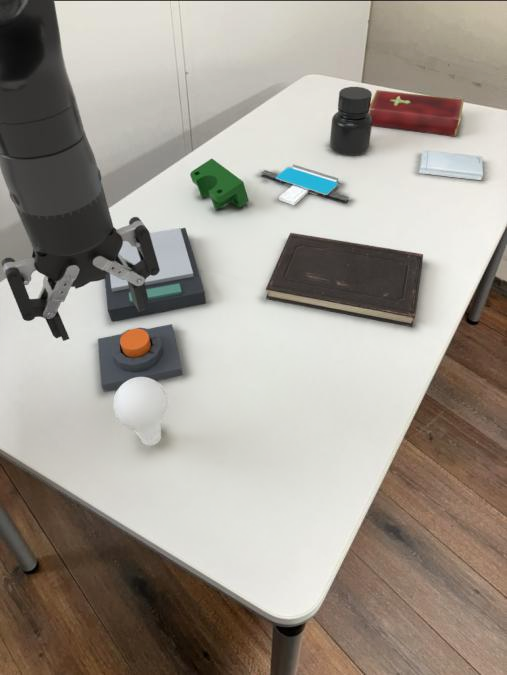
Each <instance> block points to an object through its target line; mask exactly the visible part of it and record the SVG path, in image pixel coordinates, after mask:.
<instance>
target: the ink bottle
mask: <svg viewBox="0 0 507 675" xmlns="http://www.w3.org/2000/svg"><path fill="white" fill-rule="evenodd" d="M372 96H373V93H372V91H371V90H370V89H368V88H365V87H362V86H348V87H344V88H342V89H340V90H339V92H338V101H337V112H336V113H334V114H333V116H332V117H331V124H330V125H331V126H330V137H329V147H330V149H331V150H332V151H333V152H334V153H336V154H339V155H342V156H357V155H358V156H360V155H362V154H365V153H366V152H367V151H368V149H369V148H370V142H371V135H372V128H373V126H372V122H373V121H372V117H371V116H370V114H369V113H368V112H369V108H370V104H371V102H372Z"/></svg>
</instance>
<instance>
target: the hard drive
mask: <svg viewBox="0 0 507 675" xmlns="http://www.w3.org/2000/svg"><path fill="white" fill-rule="evenodd" d="M419 163H420V164H419V171H418V172H419V174H422V175H423V174H424V175H433V176H440V177H450V178H458V179H467V180H475V181H482V179H483V176H484V164H483V156H482V155H475V154H466V153H458V152H457V153H455V152H446V151H439V150H438V151H437V150H426V149H423V150H422V152H421V157H420V162H419Z"/></svg>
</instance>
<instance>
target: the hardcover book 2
mask: <svg viewBox="0 0 507 675" xmlns="http://www.w3.org/2000/svg"><path fill="white" fill-rule="evenodd" d="M464 101H465V99H462V98H455V97H454V98H453V97H445V96H437V95H425V94H417V93H409V92H408V93H407V92H399V91H391V90H390V91H389V90H381V89H376V90H375V93H374V95H373V98H372V99H371V104H370V108H369V112H368V113H369V114H370V116H371V117H372V121H373V122H372V127H376V128H383V129H393V130H401V131H407V132H408V131H409V132H416V133H424V134H433V135H439V136H440V135H441V136H449V137H457V135H458V131H459V129H460V125H461V120H462V116H463V115H462V114H463V108H464Z"/></svg>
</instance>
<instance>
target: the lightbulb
mask: <svg viewBox="0 0 507 675" xmlns="http://www.w3.org/2000/svg"><path fill="white" fill-rule="evenodd" d="M168 404H169V400H168V396H167V393H166V390H165V389H164V387H163V386H162V385H161V384H160V383H159V381H158V380H153V379H150V378H147V377H135V378H132V379H130V380H128V381H126V382H124V383H123V384H122V385H121V386H120V387H119V388H117V389H116V392H115V394H114V398H113V411H114V414H115V416H116V418H117V420H118V421H119V422H120V423H121V424H122V425H123V426H124V427H126V428H129V429H131V430H134V431H135V433H136V435H137V436H138V437H139V438H140V441H141V442H142V443H143V444H144V445H145V446H155V445H156V444H158V443H159V442H160V440H161V438H162V431H161V429H162V421H163V418H164V417H165V415H166V413H167V409H168Z"/></svg>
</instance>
